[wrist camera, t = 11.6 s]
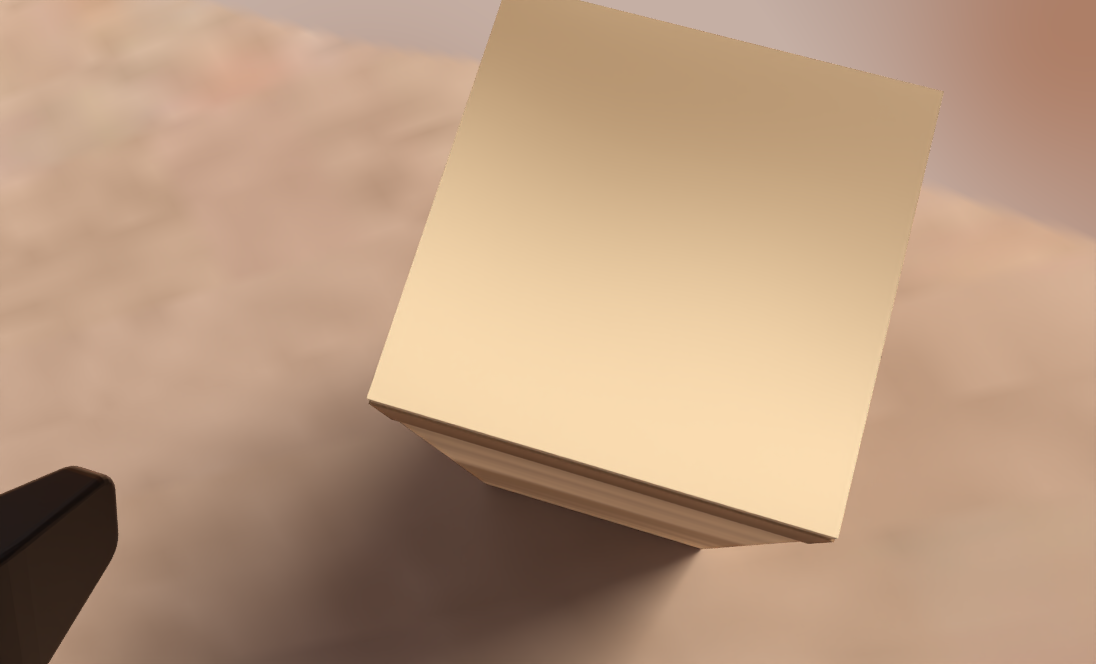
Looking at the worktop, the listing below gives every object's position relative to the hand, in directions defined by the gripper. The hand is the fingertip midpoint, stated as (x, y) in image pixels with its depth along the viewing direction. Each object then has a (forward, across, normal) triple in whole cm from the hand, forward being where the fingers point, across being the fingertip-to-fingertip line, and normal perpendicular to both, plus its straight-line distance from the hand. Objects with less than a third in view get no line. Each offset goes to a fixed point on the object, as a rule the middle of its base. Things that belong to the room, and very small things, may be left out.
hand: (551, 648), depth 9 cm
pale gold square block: (+9, 0, +3) cm, 9 cm away
